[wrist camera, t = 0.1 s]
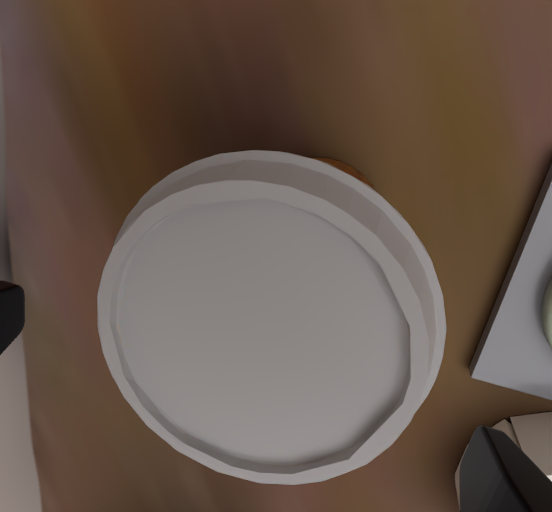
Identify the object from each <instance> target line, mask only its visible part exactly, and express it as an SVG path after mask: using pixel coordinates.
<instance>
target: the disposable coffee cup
mask: <svg viewBox="0 0 552 512" xmlns="http://www.w3.org/2000/svg"><path fill="white" fill-rule="evenodd" d="M97 302H98V331H99V336H100V340H101V345H102V350H103V354H104V356H105V359H106V362H107V364H108V367H109V370H110V372H111V374H112V376H113V378H114V380H115V381H116V383H117V385H118V387H119V389H120V391H121V393H122V395H123V396H124V398H125V399H126V400H127V402H128V403H129V404H130V405H131V407H132V408H133V409H134V410H135V411H136V413H137V414H138V415H139V416H140V418H141V419H142V420H143V421H144V423H145V424H146V425H147V426H148V427H149V428H150V429H152V430H153V431H154V432H155V433H156V434H158V435H159V436H160V437H161V438H162V439H164V440H165V441H166V442H167V443H168V444H170V445H171V446H172V447H173V448H174V449H176V450H177V451H178V452H180V453H182V454H184V455H186V456H188V457H190V458H192V459H194V460H196V461H197V462H199V463H201V464H203V465H205V466H207V467H209V468H211V469H213V470H215V471H217V472H220V473H224V474H227V475H231V476H235V477H238V478H242V479H246V480H250V481H253V482H257V483H268V484H288V485H297V484H304V483H312V482H320V481H325V480H327V479H330V478H333V477H336V476H338V475H341V474H344V473H347V472H349V471H351V470H354V469H356V468H359V467H361V466H363V465H366V464H368V463H369V462H370V461H371V460H373V459H374V458H375V457H377V456H378V455H379V454H381V453H382V452H383V451H384V450H386V449H387V448H388V447H390V446H391V445H392V444H393V443H394V441H395V440H396V439H397V438H398V437H399V435H400V434H401V433H402V432H403V430H404V429H405V428H406V427H407V426H408V424H409V423H410V421H411V419H412V417H413V415H414V413H415V412H416V411H417V409H418V408H419V407H420V405H421V404H422V403H423V401H424V400H425V399H426V397H427V396H428V394H429V392H430V390H431V388H432V386H433V384H434V382H435V380H436V378H437V374H438V371H439V368H440V365H441V361H442V358H443V351H444V343H445V336H446V320H445V311H444V302H443V294H442V291H441V288H440V285H439V282H438V279H437V276H436V273H435V270H434V267H433V264H432V261H431V259H430V257H429V255H428V253H427V251H426V249H425V247H424V245H423V244H422V242H421V241H420V240H419V238H418V237H417V235H416V234H415V232H414V231H413V230H412V228H411V227H410V225H409V224H408V223H407V222H406V220H405V219H404V218H403V217H402V215H401V214H400V213H399V212H398V211H397V210H396V209H395V208H394V207H393V206H391V205H390V204H389V203H388V202H387V201H386V200H385V199H384V198H383V197H382V196H380V195H379V194H378V193H377V192H376V191H375V189H374V188H373V186H372V185H371V183H370V182H369V181H368V180H367V179H366V178H365V177H364V176H363V175H362V174H361V173H359V172H358V171H357V170H355V169H354V168H352V167H351V166H349V165H347V164H345V163H343V162H341V161H337V160H333V159H329V158H316V157H313V158H307V157H304V156H300V155H296V154H292V153H287V152H279V151H265V150H249V151H240V152H231V153H222V154H217V155H214V156H211V157H208V158H205V159H201V160H198V161H195V162H193V163H191V164H189V165H187V166H185V167H183V168H180V169H178V170H176V171H174V172H172V173H171V174H169V175H168V176H167V177H165V178H164V179H163V180H161V181H160V182H159V183H157V184H156V185H154V186H153V187H152V188H151V189H150V190H149V191H148V192H147V193H146V194H145V195H144V196H143V197H142V198H141V199H140V200H139V201H138V203H137V204H136V205H135V207H134V208H133V209H132V210H131V212H130V213H129V214H128V215H127V217H126V219H125V221H124V223H123V225H122V227H121V229H120V231H119V233H118V235H117V237H116V239H115V242H114V245H113V249H112V251H111V254H110V256H109V258H108V260H107V263H106V265H105V267H104V269H103V274H102V278H101V282H100V286H99V291H98V295H97Z"/></svg>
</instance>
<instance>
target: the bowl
mask: <svg viewBox="0 0 552 512" xmlns="http://www.w3.org/2000/svg"><path fill="white" fill-rule="evenodd" d="M510 419H511V424H512V425H511V424H510V423H509V422H508V421H507V420H506V419H504V420H502V421H501V422H499V423H497V424H496V425H494V426H493V427H491V428H494V429H497V430H501V431H503V432H505V433H506V434H507V435H508V436H509V437H510V438H511V439H512V441H513V442H514V443H515V444H516V445H517V446H518V447H519V448H520V449H521V450H522V451H523V452H524V453H525V454H526V455H527V456H528V457H529V458H530V459H531V460H532V461H533V462H534V463H535V464H536V466H537V467H538V468H539V469H540V470H541V471H542V472H543V473H544V474H545V475H546V476H547V477H548V478H549V479H550V480H551V481H552V412H546V413H538V414H530V415H522V416H514V417H510ZM467 447H468V445H467ZM467 447H466V449H467ZM466 449H465V451H466ZM464 453H465V452H464ZM463 455H464V454H463ZM462 458H463V456H462ZM462 458H461V460H462ZM460 464H461V461H460V463H459V465H458V468H457V470H456V472H455V478H454V479H455V485H456V491H457V497H458V503H459V509H460V489H459V470H460Z"/></svg>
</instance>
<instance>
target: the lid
mask: <svg viewBox="0 0 552 512" xmlns="http://www.w3.org/2000/svg"><path fill="white" fill-rule="evenodd" d="M542 325H543V330H544V333H545V336H546V339H547V341H548V343H549V345H550V347H551V349H552V278H551V280H550V282H549V284H548V286H547V289H546V292H545V295H544V299H543V304H542Z"/></svg>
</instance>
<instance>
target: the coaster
mask: <svg viewBox="0 0 552 512" xmlns="http://www.w3.org/2000/svg"><path fill="white" fill-rule="evenodd" d="M551 278H552V163H551V166H550V168H549V171H548V173H547V176H546V178H545V181H544V183H543V186H542V188H541V191H540V193H539V195H538V198H537V200H536V203H535V205H534V208H533V210H532V213H531V215H530V218H529V220H528V223H527V225H526V228H525V230H524V233H523V235H522V238H521V240H520V242H519V245H518V247H517V250H516V252H515V255H514V257H513V260H512V262H511V265H510V267H509V270H508V272H507V275H506V277H505V280H504V282H503V285H502V287H501V289H500V292H499V294H498V297H497V299H496V302H495V304H494V307H493V309H492V312H491V314H490V317H489V319H488V322H487V324H486V327H485V329H484V332H483V334H482V336H481V339H480V341H479V344H478V346H477V349H476V351H475V354H474V356H473V359H472V361H471V364H470V366H469V372H470V375H471V378H474V379H478V380H482V381H485V382H489V383H492V384H496V385H499V386H503V387H507V388H510V389H514V390H517V391H521V392H525V393H528V394H532V395H535V396H539V397H542V398H546V399H550V400H552V349H551V347H550V345H549V343H548V341H547V339H546V336H545V333H544V330H543V325H542V304H543V299H544V295H545V292H546V289H547V286H548V284H549V282H550V280H551Z"/></svg>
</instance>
